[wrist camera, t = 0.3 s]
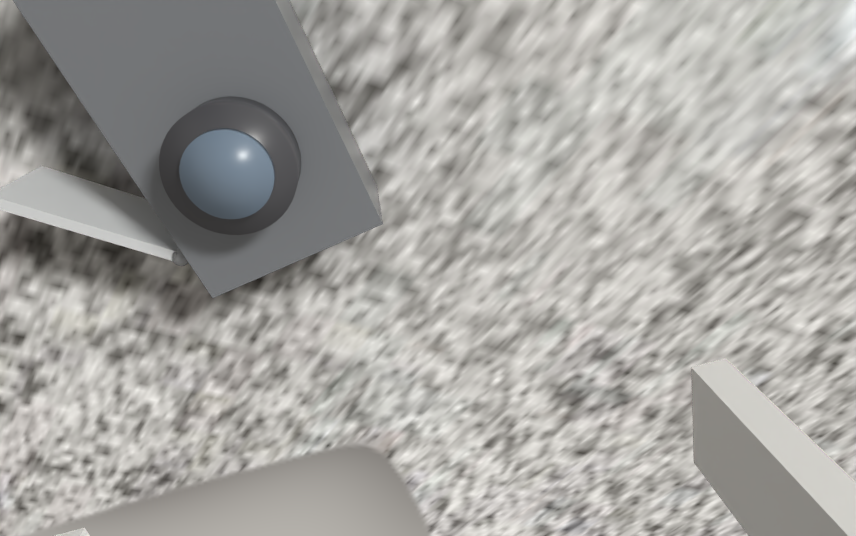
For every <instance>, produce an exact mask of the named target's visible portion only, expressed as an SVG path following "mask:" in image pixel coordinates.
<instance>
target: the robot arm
mask: <svg viewBox="0 0 856 536" xmlns="http://www.w3.org/2000/svg"><path fill="white" fill-rule="evenodd" d="M691 380H692V416H693V452H694V463H695V465H696V466H697V467H698V469H699V470H700V471H701V473H702V474H703V475H704V477H705V478H706V479H707V481H708V482H709V483H710V485H711V486H712V487H713V489H714V490H715V491H716V493H717V494H718V495H719V497H720V498H721V499H722V501H723V502H724V503H725V505H726V506H727V507H728V509H729V510H730V511H731V513H732V514H733V515H734V517H735V518H736V519H737V521H738V522H739V523H740V525H741V526H742V528H743V529H744V530H745V532H746V533H747V534H748V536H856V481H855V480H853V479H852V478H851V477H850V476H849V475H848V474H847V473H846V472H845V471H844V470H843V469H842V468H841V467H840V466H839V465H838V464H837V463H836V462H835V461H834V460H832V459H831V458H830V457H829V456H828V455H827V454H826V453H825V452H824V451H823V450H822V449H821V448H820V447H819V446H818V445H817V444H816V443H815V442H814V441H812V440H811V439H810V438H809V437H808V436H807V435H806V434H805V433H804V432H803V431H802V430H801V429H800V428H799V427H798V426H797V425H796V424H795V423H794V422H793V421H791V420H790V419H789V418H788V417H787V416H786V415H785V414H784V413H783V412H782V411H781V410H780V409H779V408H778V407H777V406H776V405H775V404H774V403H773V402H771V401H770V400H769V399H768V398H767V397H766V396H765V395H764V394H763V393H762V392H761V391H760V390H759V389H758V388H757V387H756V386H755V385H754V384H753V383H752V382H750V381H749V380H748V379H747V378H746V377H745V376H744V375H743V374H742V373H741V372H740V371H739V370H738V369H737V368H736V367H735V366H734V365H733V364H732V363H730V362H729V361H728V360H727V359H726V358H724V359H720V360H717V361H713V362H709V363H705V364H702V365H698V366H694V367H691ZM54 536H90V535H89V534H88V532H87V531H86V529H85V528H81V529H78V530H73V531H70V532H66V533H62V534H58V535H54Z"/></svg>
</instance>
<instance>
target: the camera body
mask: <svg viewBox="0 0 856 536" xmlns="http://www.w3.org/2000/svg"><path fill="white" fill-rule="evenodd" d="M13 1H14V3H15V4H16V6H17V7H18V9H19V10H20V12H21V13H22V15H23V16H24V18H25V19H26V21H27V22H28V24H29V25H30V27H31V28H32V30H33V31H34V33H35V34H36V36H37V37H38V39H39V40H40V42H41V43H42V45H43V46H44V48H45V49H46V51H47V52H48V54H49V55H50V57H51V58H52V59H53V61H54V62H55V64H56V65H57V67H58V68H59V70H60V71H61V73H62V74H63V76H64V77H65V79H66V80H67V82H68V83H69V85H70V86H71V88H72V89H73V91H74V92H75V94H76V95H77V97H78V98H79V100H80V101H81V103H82V104H83V106H84V107H85V109H86V110H87V112H88V113H89V115H90V116H91V118H92V119H93V121H94V122H95V124H96V125H97V127H98V128H99V130H100V131H101V133H102V134H103V136H104V137H105V139H106V140H107V142H108V143H109V144H110V146H111V147H112V149H113V150H114V152H115V153H116V155H117V156H118V158H119V159H120V161H121V162H122V164H123V165H124V167H125V168H126V170H127V171H128V173H129V174H130V176H131V177H132V179H133V180H134V182H135V183H136V185H137V186H138V188H139V189H140V191H141V192H142V194H143V195H144V197H145V198H146V200H147V201H148V203H149V204H150V206H151V207H152V209H153V210H154V212H155V213H156V215H157V216H158V218H159V219H160V221H161V222H162V224H163V225H164V227H165V228H166V230H167V231H168V232H169V234H170V235H171V237H172V238H173V240H174V241H175V243H176V244H177V246H178V247H179V249H180V250H181V252H182V253H183V255H184V256H185V258H186V259H187V261H188V262H189V264H190V265H191V267H192V268H193V270H194V271H195V273H196V274H197V276H198V277H199V279H200V280H201V282H202V283H203V285H204V286H205V288H206V289H207V291H208V292H209V294H210V295H211V297H212V298H214V297H216V296H219V295H221V294H223V293H226V292H228V291H230V290H233V289H235V288H237V287H239V286H242V285H244V284H246V283H249V282H251V281H253V280H256V279H258V278H260V277H262V276H265V275H267V274H269V273H272V272H274V271H276V270H278V269H281V268H283V267H285V266H288V265H290V264H292V263H295V262H297V261H299V260H301V259H304V258H306V257H308V256H311V255H313V254H315V253H318V252H320V251H322V250H324V249H327V248H329V247H331V246H334V245H336V244H338V243H340V242H343V241H345V240H347V239H350V238H352V237H354V236H357V235H359V234H361V233H363V232H366V231H368V230H370V229H373V228H375V227H377V226H380V225H382V224H383V222H382V215H381V209H380V202H379V196H378V189H377V185H376V183H375V181H374V179H373V176H372V174H371V172H370V170H369V168H368V166H367V164H366V162H365V159H364V157H363V155H362V153H361V151H360V149H359V147H358V145H357V142H356V140H355V138H354V136H353V134H352V132H351V130H350V128H349V125H348V123H347V121H346V119H345V117H344V115H343V113H342V111H341V109H340V106H339V104H338V102H337V100H336V98H335V96H334V94H333V92H332V89H331V87H330V85H329V83H328V81H327V79H326V77H325V75H324V72H323V70H322V68H321V66H320V64H319V62H318V60H317V58H316V55H315V53H314V51H313V49H312V47H311V45H310V43H309V41H308V38H307V36H306V34H305V32H304V30H303V28H302V26H301V24H300V21H299V19H298V17H297V15H296V13H295V11H294V9H293V7H292V5H291V2H290V0H13Z"/></svg>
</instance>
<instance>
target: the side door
mask: <svg viewBox="0 0 856 536" xmlns="http://www.w3.org/2000/svg"><path fill="white" fill-rule="evenodd" d="M0 210H2V211H5V212H9V213H12V214H16V215H19V216H22V217H26V218H29V219H32V220H36V221H39V222H43V223H46V224H49V225H53V226H56V227H59V228H63V229H66V230H70V231H73V232H76V233H80V234H83V235H86V236H90V237H93V238H97V239H100V240H103V241H107V242H110V243H113V244H117V245H120V246H124V247H127V248H130V249H134V250H137V251H140V252H144V253H147V254H151V255H154V256H157V257H161V258H164V259H167V260H171V261H173V262H174V263H175V264H176V265H179V266H184V265H186V264H187V263H188V261H187V259H186V258H185V256H184V255H183V253H182V252H181V250H180V249H179V247H178V246H177V244H176V243H175V241H174V240H173V238H172V237H171V235H170V234H169V232H168V231H167V230H166V228H165V227H164V225H163V224H162V222H161V221H160V219H159V218H158V216H157V215H156V213H155V212H154V210H153V209H152V207H151V206H150V204H149V203H148V201H147V200H146V199H145V198H142V197H139V196H136V195H133V194H130V193H126V192H123V191H120V190H117V189H114V188H111V187H108V186H105V185H101V184H98V183H95V182H92V181H89V180H86V179H83V178H80V177H76V176H73V175H70V174H67V173H64V172H61V171H58V170H55V169H51V168H48V167H45V166H41V167H39V168H37V169H35V170H33V171H31V172H29V173H28V174H26V175H24V176H22V177H20V178H18V179H16V180H15V181H13V182H11V183H9V184H7V185H5V186H3V187H1V188H0Z"/></svg>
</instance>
